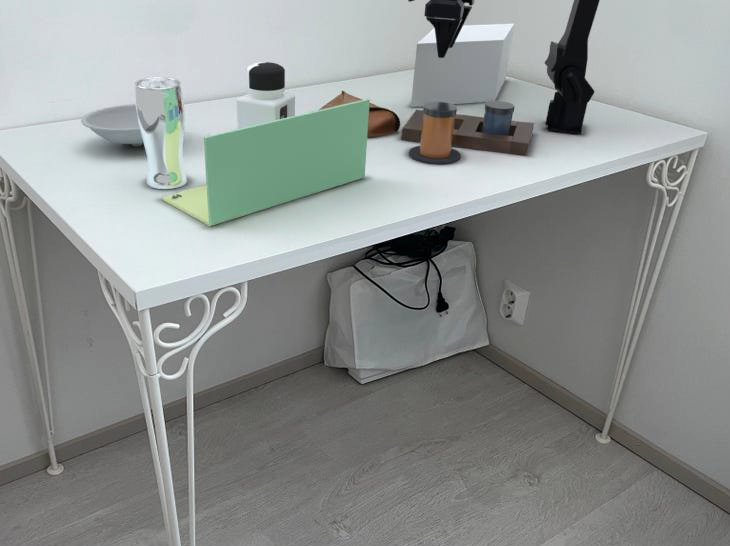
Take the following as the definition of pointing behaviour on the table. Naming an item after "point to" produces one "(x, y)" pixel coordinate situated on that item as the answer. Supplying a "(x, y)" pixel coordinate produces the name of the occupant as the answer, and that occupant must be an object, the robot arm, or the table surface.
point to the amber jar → (437, 129)
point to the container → (264, 96)
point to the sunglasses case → (371, 116)
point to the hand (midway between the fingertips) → (445, 52)
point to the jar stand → (476, 134)
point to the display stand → (278, 163)
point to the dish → (115, 124)
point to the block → (463, 66)
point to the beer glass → (162, 130)
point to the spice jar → (498, 117)
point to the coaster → (417, 156)
